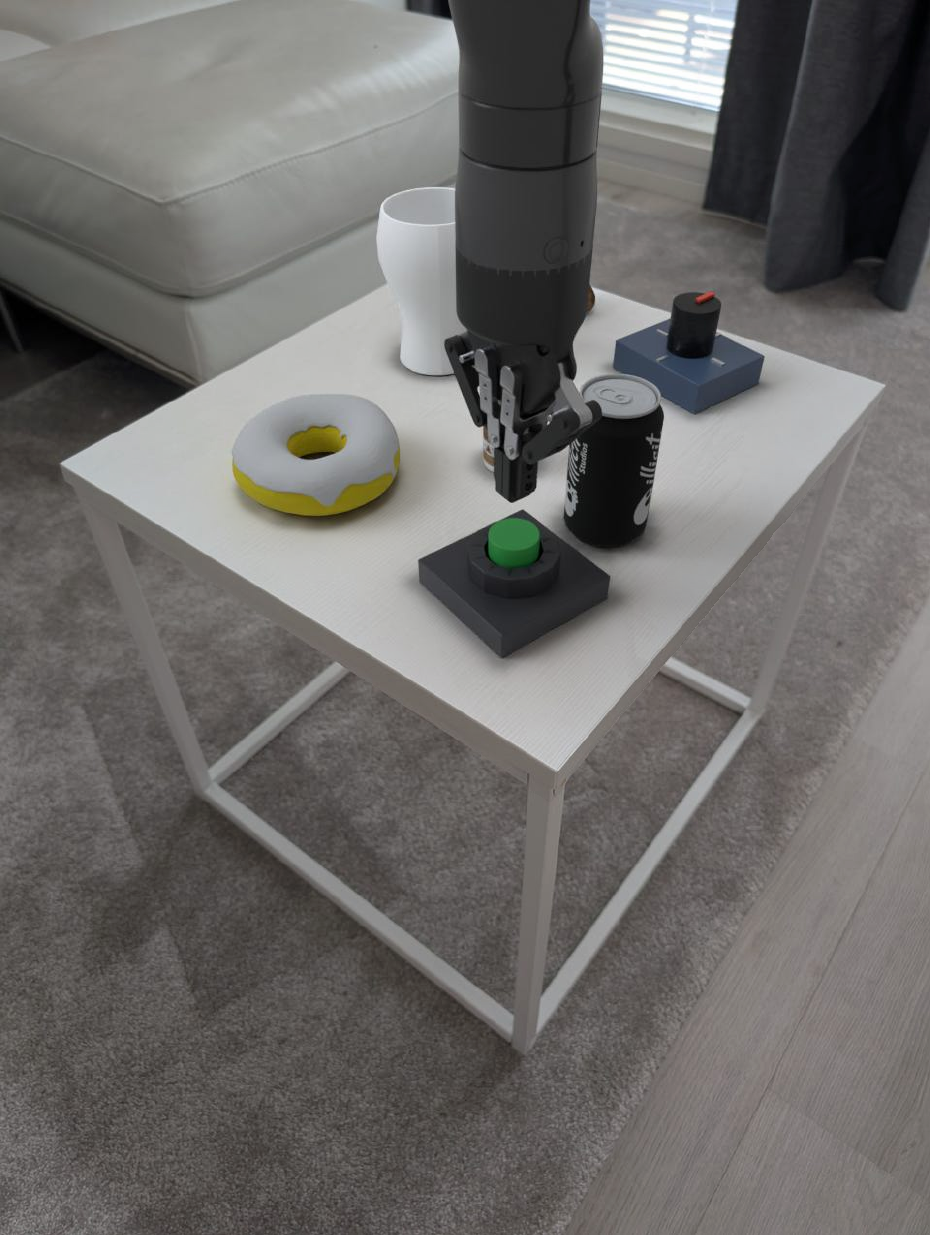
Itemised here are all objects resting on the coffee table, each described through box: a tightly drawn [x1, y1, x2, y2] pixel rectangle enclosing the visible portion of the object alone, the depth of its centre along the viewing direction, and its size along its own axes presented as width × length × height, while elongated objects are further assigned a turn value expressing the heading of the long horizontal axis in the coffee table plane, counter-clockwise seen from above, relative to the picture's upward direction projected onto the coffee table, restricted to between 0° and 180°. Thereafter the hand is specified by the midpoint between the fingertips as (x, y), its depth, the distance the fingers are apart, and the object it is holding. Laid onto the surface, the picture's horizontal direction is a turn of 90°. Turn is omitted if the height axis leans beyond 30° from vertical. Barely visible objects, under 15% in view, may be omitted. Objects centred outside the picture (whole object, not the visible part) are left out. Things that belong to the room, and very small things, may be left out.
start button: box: [488, 518, 540, 569], centre depth 64 cm, size 4×4×2 cm
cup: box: [375, 186, 467, 376], centre depth 87 cm, size 11×11×15 cm
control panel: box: [612, 318, 766, 415], centre depth 88 cm, size 11×9×3 cm
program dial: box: [666, 291, 722, 358], centre depth 86 cm, size 4×4×5 cm
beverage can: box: [563, 373, 665, 549], centre depth 68 cm, size 7×7×12 cm
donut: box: [231, 393, 401, 517], centre depth 76 cm, size 14×14×5 cm
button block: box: [417, 508, 611, 658], centre depth 66 cm, size 10×10×4 cm
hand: (514, 493), depth 61 cm, fingers closed
